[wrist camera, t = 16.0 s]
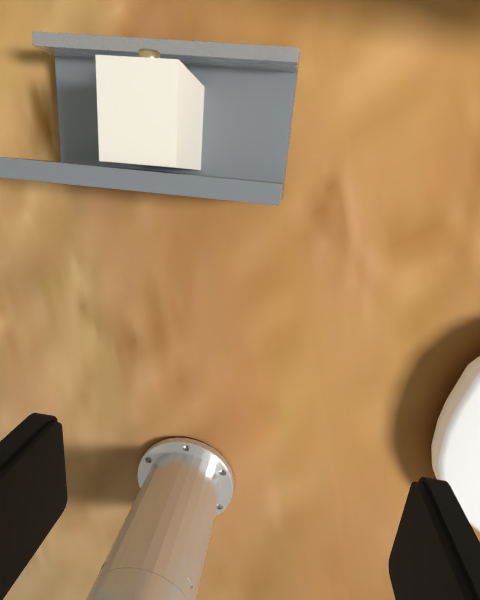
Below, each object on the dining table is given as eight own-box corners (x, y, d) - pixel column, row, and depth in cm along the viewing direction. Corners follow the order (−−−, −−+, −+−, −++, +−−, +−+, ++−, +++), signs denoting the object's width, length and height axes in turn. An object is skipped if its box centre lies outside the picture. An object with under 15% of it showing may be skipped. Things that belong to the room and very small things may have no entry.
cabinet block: (200, 170, 35) (175, 167, 28) (139, 164, 36) (99, 160, 28) (205, 73, 33) (179, 42, 25) (139, 70, 33) (94, 38, 26)
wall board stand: (282, 198, 37) (278, 205, 27) (70, 177, 39) (-2, 177, 29) (299, 57, 33) (302, 8, 23) (63, 43, 35) (-22, -8, 25)
